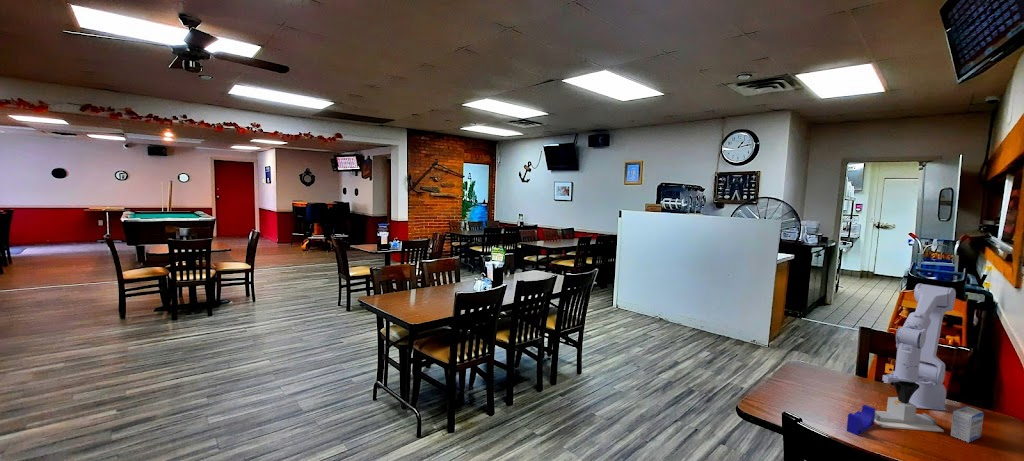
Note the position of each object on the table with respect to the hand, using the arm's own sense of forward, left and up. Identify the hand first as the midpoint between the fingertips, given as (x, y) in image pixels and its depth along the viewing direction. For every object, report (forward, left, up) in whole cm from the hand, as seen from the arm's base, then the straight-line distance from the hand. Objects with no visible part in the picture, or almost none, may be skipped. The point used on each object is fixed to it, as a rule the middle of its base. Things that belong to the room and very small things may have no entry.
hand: (903, 402), depth 143 cm
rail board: (0, 0, -7) cm, 7 cm away
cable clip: (+17, +6, -7) cm, 19 cm away
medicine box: (-14, +7, -7) cm, 17 cm away
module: (0, 0, -5) cm, 5 cm away
